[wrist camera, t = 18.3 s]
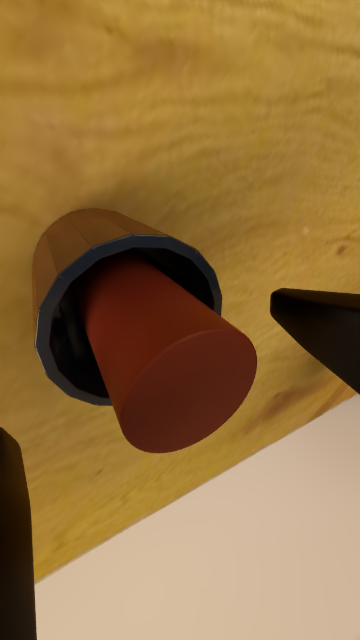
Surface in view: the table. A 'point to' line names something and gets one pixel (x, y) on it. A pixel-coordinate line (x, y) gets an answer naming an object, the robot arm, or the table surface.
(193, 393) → the dowel
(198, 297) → the can
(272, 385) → the table surface
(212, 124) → the table surface
